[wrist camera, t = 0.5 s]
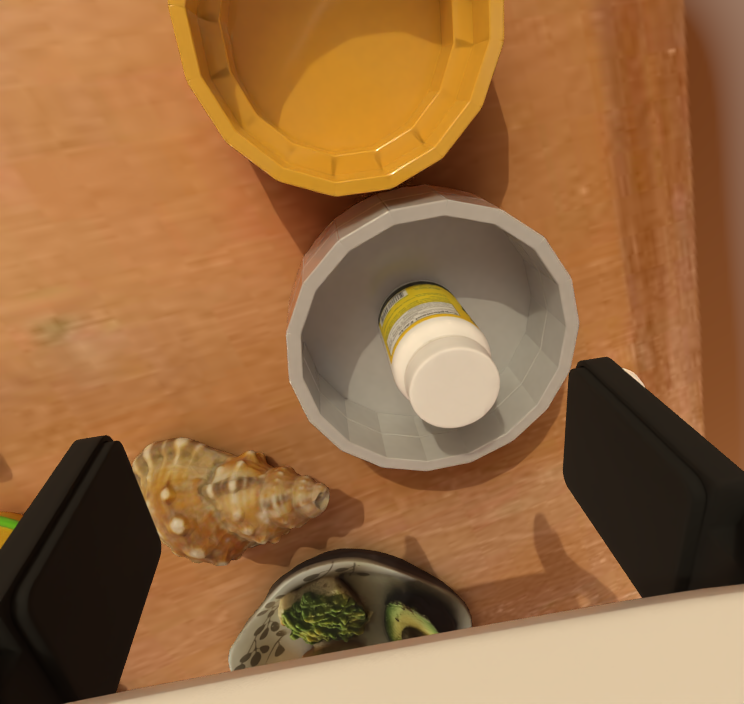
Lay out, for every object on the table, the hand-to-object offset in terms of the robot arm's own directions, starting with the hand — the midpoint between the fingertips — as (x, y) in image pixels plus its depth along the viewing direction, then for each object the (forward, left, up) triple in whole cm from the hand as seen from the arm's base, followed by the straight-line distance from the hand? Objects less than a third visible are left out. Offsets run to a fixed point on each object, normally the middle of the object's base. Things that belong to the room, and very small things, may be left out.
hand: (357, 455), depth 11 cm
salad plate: (+27, -14, -19) cm, 36 cm away
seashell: (+9, -13, -19) cm, 25 cm away
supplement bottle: (+6, +2, -18) cm, 20 cm away
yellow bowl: (-8, +5, -19) cm, 21 cm away
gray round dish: (+6, +2, -19) cm, 20 cm away
